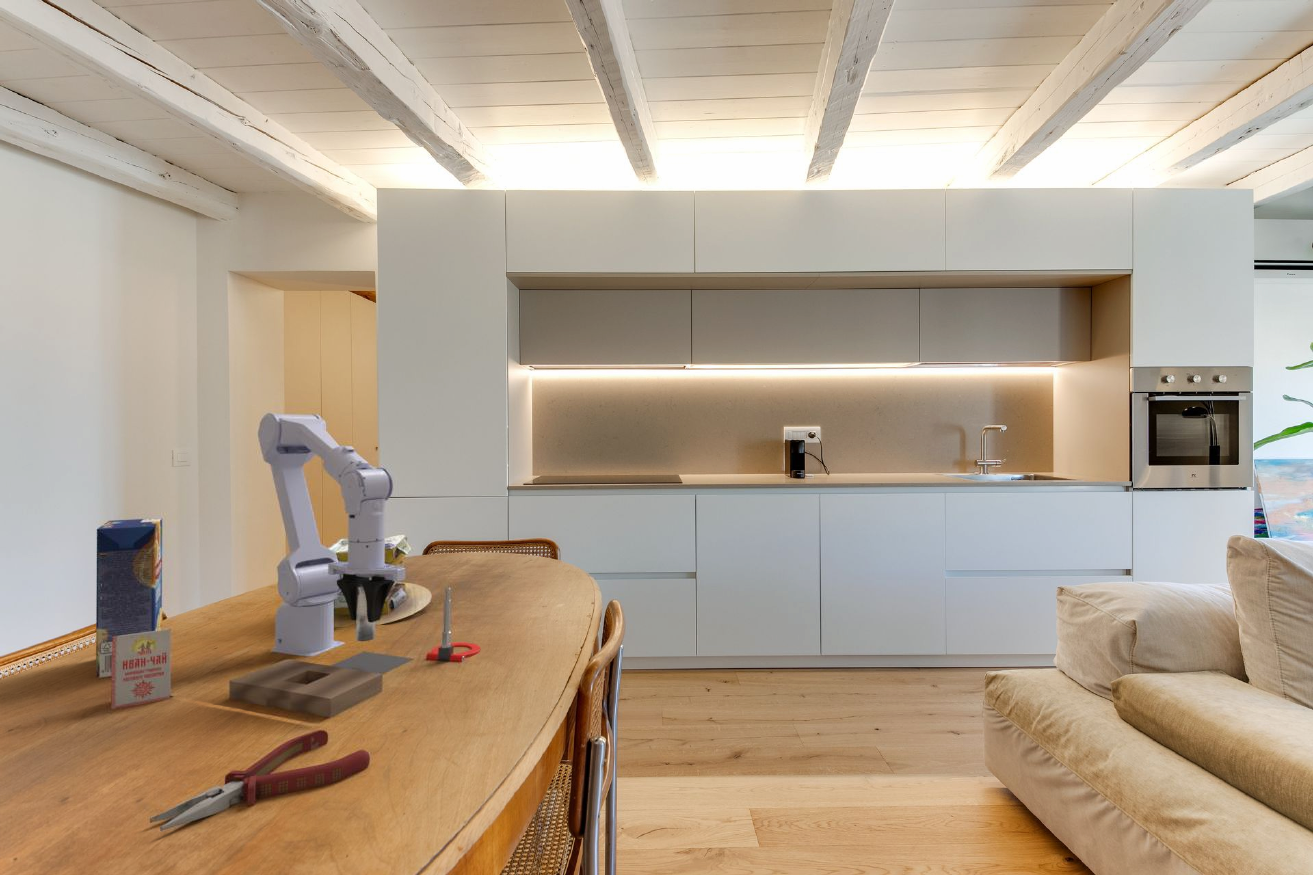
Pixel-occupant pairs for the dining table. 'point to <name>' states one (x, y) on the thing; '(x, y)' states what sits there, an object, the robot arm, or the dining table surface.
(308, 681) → the hole block
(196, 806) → the pliers
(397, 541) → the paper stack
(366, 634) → the peg
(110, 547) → the juice carton
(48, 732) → the dining table surface
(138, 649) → the tea bag
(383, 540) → the robot arm
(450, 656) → the tow hook
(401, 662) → the mat
